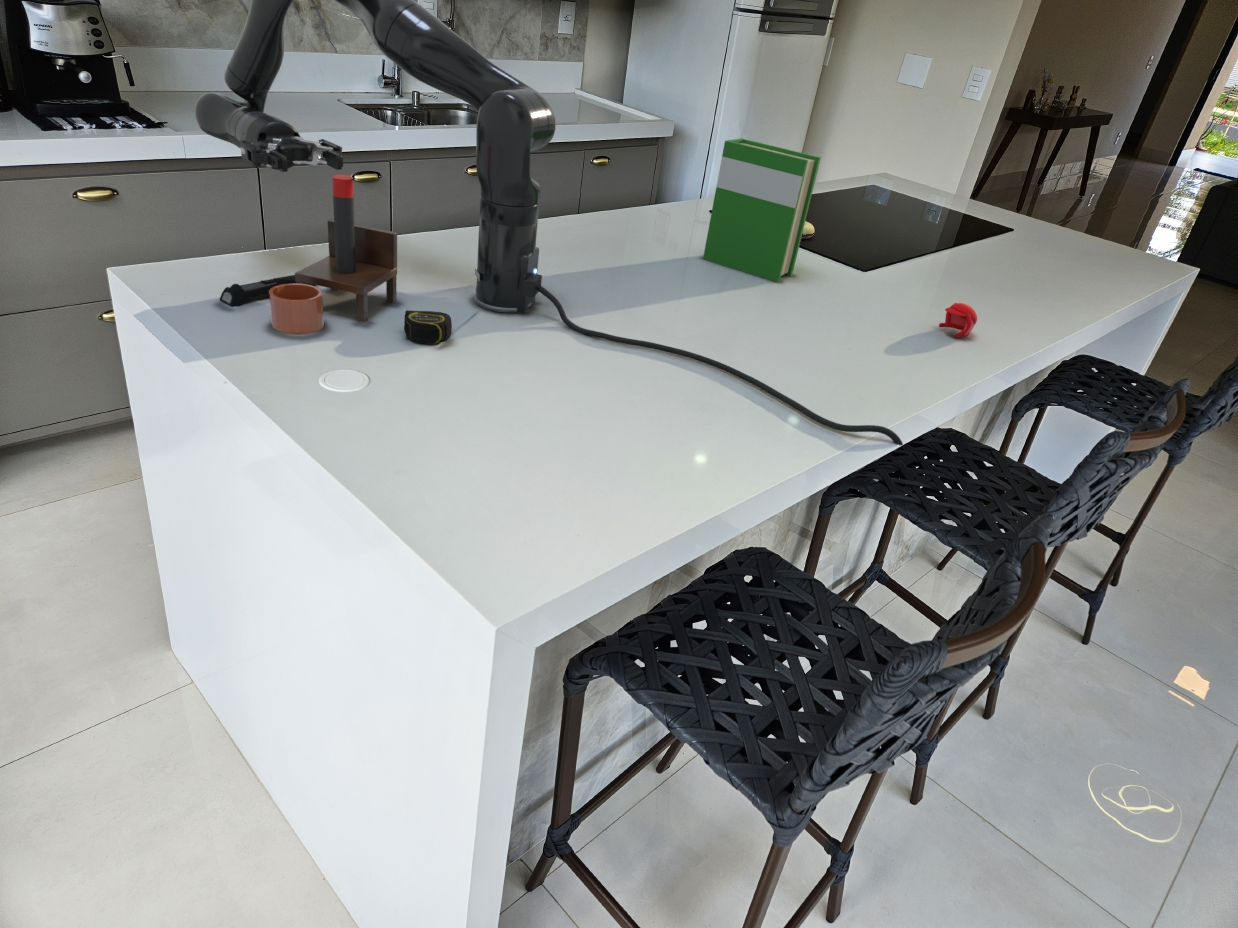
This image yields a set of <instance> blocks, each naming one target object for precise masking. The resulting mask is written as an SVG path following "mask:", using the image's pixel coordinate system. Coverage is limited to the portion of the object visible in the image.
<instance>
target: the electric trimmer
mask: <svg viewBox="0 0 1238 928" xmlns="http://www.w3.org/2000/svg"><path fill="white" fill-rule="evenodd" d="M291 283H296V281H295V274H292V275H286V276H280V277H274V278H270V279H264V280H260V281H256V282H251V283H245V284H238V283H233V284H232V285H231V286H226V287H225V288H224V289H223V291H222V292H221V294H220V296H219V302H222V303H223V304H225V305H227V306H229V307H230V308H234V307H240V306H241V305H242V304H245V303H251V302H255V301H259V300H264V299H269V290H270V289H271V288H273V287H275V286H278V285H282V284H291ZM308 285H312V286H315V287H317V285H313V284H309V283H308Z"/></svg>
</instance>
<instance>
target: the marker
mask: <svg viewBox="0 0 1238 928" xmlns="http://www.w3.org/2000/svg"><path fill="white" fill-rule="evenodd" d="M331 178H332V179H331V180H332V200H333V201H332V202H333V220H334V229H335V253H336V270H337V271H338V272H340V273H353V272H355V271H356V268H355V234H354V224H355V204H354V199H355V198H354V178H353V176H350V175H348V174H347V175H346V174H334V175H332V176H331Z"/></svg>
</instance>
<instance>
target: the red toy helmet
mask: <svg viewBox="0 0 1238 928" xmlns="http://www.w3.org/2000/svg"><path fill="white" fill-rule="evenodd" d="M944 311H945V312H946V313H945V320H944V322H940V323H939V324H938V327H939V328H950V329H955V330H959V332H956V333H955V334H954V337H955V338H956V339H957V338H964V337H968V336H970V335H971V333H972V330H973V329H974V327H975V325H976V324H977V323H978V315H977V312H976V311H975V310H974V308H973V307H972V306H971V305H969V304H967V303H964V302H954V303H953V304H951V305H950V306H949V307H946V308H945V309H944Z"/></svg>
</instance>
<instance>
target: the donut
mask: <svg viewBox="0 0 1238 928" xmlns="http://www.w3.org/2000/svg"><path fill="white" fill-rule="evenodd" d="M813 233H814V234H815V227H814V226H813V224H812V223H810V222H808V221H806V220H805V225H804V229H803V233H802V234H803V235H806V234H813ZM814 234H813V235H812V236H808V237H801V240H807V239H810V238H812V237H813V236H814Z"/></svg>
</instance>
